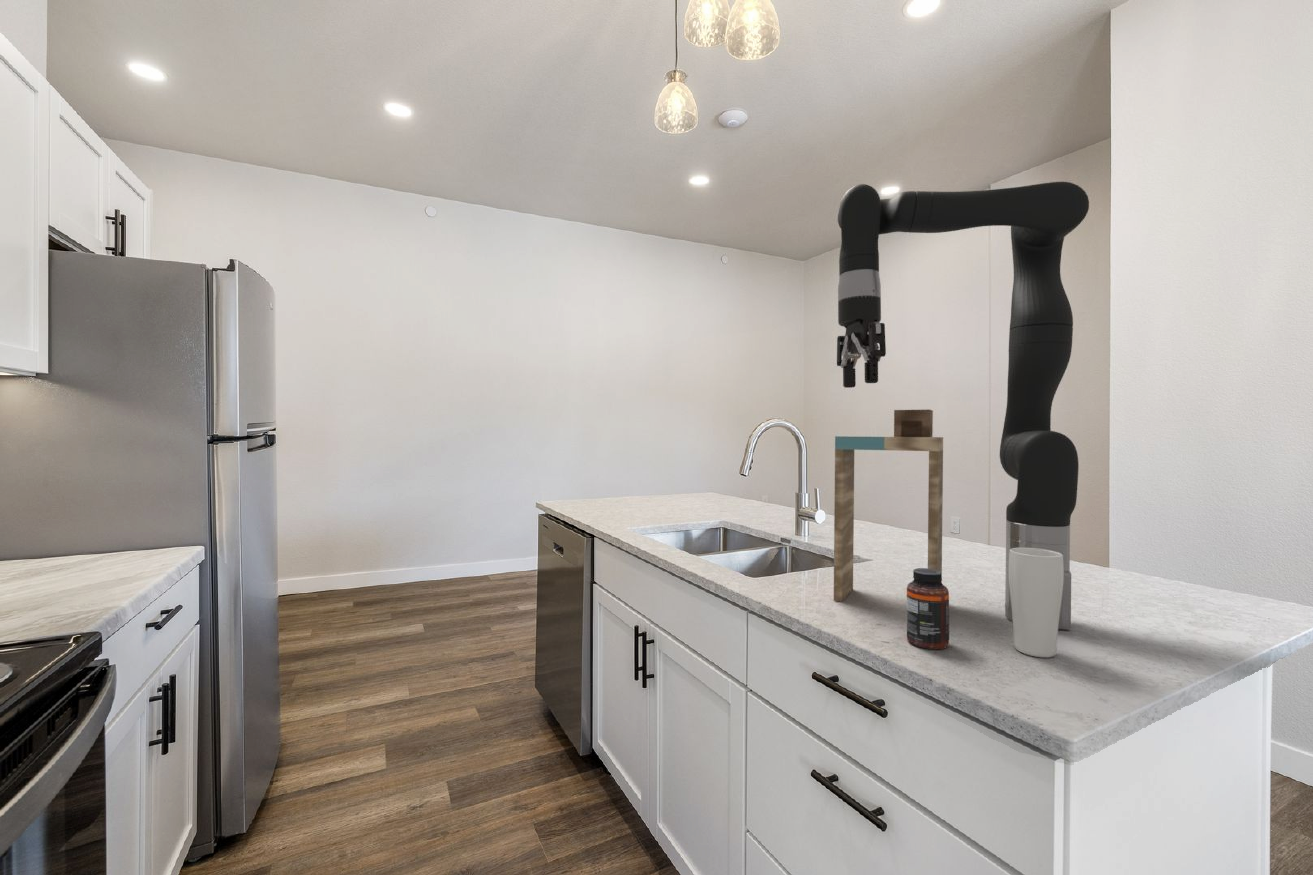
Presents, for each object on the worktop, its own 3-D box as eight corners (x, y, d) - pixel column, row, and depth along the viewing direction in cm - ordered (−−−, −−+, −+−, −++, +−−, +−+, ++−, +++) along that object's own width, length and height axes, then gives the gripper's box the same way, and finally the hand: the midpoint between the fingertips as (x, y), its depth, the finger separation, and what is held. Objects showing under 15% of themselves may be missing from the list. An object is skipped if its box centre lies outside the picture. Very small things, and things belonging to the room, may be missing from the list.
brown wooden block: (938, 437, 115) (938, 413, 115) (929, 437, 100) (929, 409, 100) (907, 436, 118) (907, 413, 118) (893, 436, 104) (894, 410, 104)
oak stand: (941, 602, 107) (943, 437, 107) (936, 616, 99) (938, 437, 99) (845, 588, 117) (847, 436, 117) (833, 600, 108) (835, 436, 108)
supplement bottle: (939, 637, 89) (940, 566, 89) (955, 651, 83) (956, 576, 83) (900, 635, 89) (901, 565, 89) (914, 650, 83) (915, 574, 83)
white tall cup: (1064, 664, 78) (1066, 558, 78) (1007, 654, 82) (1009, 553, 82) (1060, 649, 84) (1061, 550, 84) (1007, 640, 88) (1008, 545, 88)
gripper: (899, 289, 97) (899, 381, 97) (859, 308, 111) (860, 388, 112) (858, 288, 96) (859, 381, 96) (824, 307, 111) (824, 388, 111)
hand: (859, 385), depth 104 cm, fingers open, 8 cm apart
